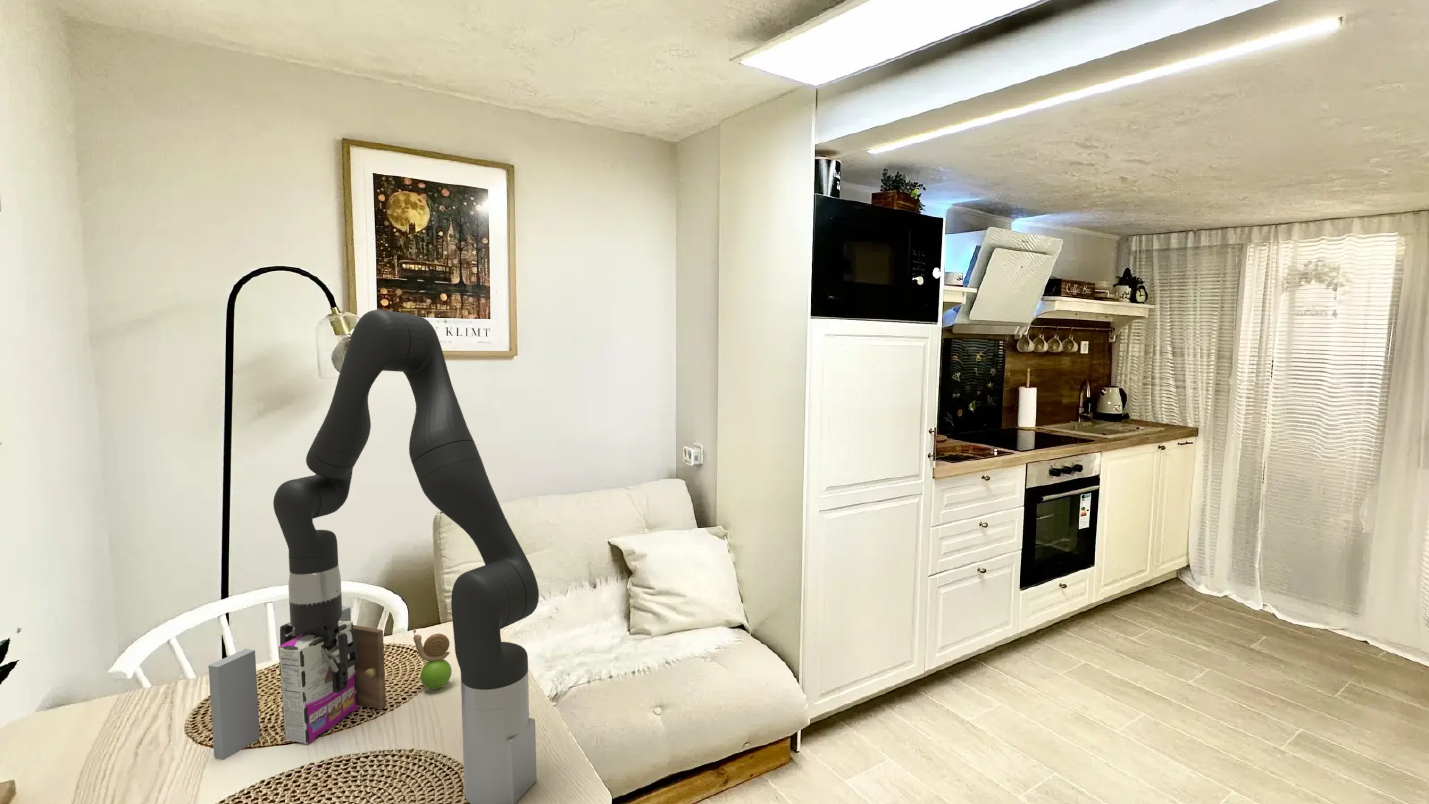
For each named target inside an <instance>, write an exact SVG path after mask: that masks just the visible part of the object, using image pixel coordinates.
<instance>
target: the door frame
mask: <svg viewBox="0 0 1429 804" xmlns="http://www.w3.org/2000/svg"><path fill="white" fill-rule="evenodd" d="M340 620H344V621H352V613H351V606H345V605H342V616H341V618H340ZM257 676H258V675H257V663H256V650H255V649H250V648H244V649H241V650H240V651H238V652H235V653H233V654H231V655H229V656H227V657H224V658H222V659H219V660H216V661H215V662H213V663H210V664H208V677H209V678H208V680H209V681H208V682H209V694H210V695H209V696H210V714H211V727H212V728H211V730H212V742H213V743H212V744H213V745H212V747H213V757H214V759H219V760H223V761H224V760H226V759H227V758H229V757H231V756H233V755H235V754H236V753H238V752H239V751H242V749H244V748H246V747H248V746H250V745H251V744H253V743H254V742H257V741H258V740H260V739H261V733H260V715H259V699H258V698H259V697H258V677H257ZM259 738H260V739H259Z"/></svg>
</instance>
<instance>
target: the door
mask: <svg viewBox="0 0 1429 804" xmlns="http://www.w3.org/2000/svg"><path fill="white" fill-rule="evenodd" d="M353 629H354V630H355V633H356V644H357V655H358V663H356V664H355V669H356V685H357V701H358V705H359V706H360V705H361V706H365V707H370V708H374V709H379V710H382V709H383V708H385V707H386V706H387V699H386V671H385V651H384V650H385V646H384V630H383V629H379V628H373V627H368V626H362V625H357V624H353Z"/></svg>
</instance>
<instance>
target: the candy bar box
mask: <svg viewBox="0 0 1429 804" xmlns="http://www.w3.org/2000/svg"><path fill="white" fill-rule="evenodd" d="M338 625H339V628H340V630H341V631H346V632H347V631H349V630H351V629H353V625H354V622H353V621H352V620H351V621H344V620H339V622H338ZM302 635H303V634H302ZM302 635H300V636H302ZM300 636H298V637H296V638H294V639H292V640H290V641H288V642H286V643H284V644H282V645H280V644H279V646H278V659H279V660H278V661H279V670H280V671H279V673H280V686H281V700H282V712H283V726H284V727H283V729H284V740H290V741H294V742H298V743H297V744H301V743H302V744H301V745H307V744H308V745H310V744H312V743H313V742H315V741H316V740H317V739H318V738H320V737H321V736H323V735H324V734H326V733H327V732H328V731H330V730H331V729H333V728H334V727H335V726H337V725H338V724H339V723H341V722H342V721H343V720H345V719H347V718H348V717H349V716H350V715H351V713H352V712H353V713H355V712H356V711H357V710H358V709H359V704H358V701H357V685H356V669H355V665H353V666H351V667H349V668H348V685H347V687H346V688H345V689H344V690H342V691H341V692H339V693H335V692H333V683H332V672H333V670H332V668H331V667H330V665H329V663H328V662H324V661H323V659H322V654H321V645H323V644H324V640H323V637H317V638H315V639H313V637H315V636H314V635H305V636H303V637H300ZM335 651H336V649H335V646H334V648H333V649H332V650H329V651H328V652H329V653H333V652H335ZM335 659H336V661H337V663H339V662H340V660H339V658H338V657H335ZM348 659H350V654H348ZM353 713H352V714H353ZM347 716H348V717H347ZM340 721H341V722H340ZM336 724H337V725H336ZM329 729H330V730H329ZM294 742H293V743H294Z"/></svg>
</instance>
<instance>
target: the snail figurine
mask: <svg viewBox="0 0 1429 804" xmlns="http://www.w3.org/2000/svg"><path fill="white" fill-rule="evenodd" d="M412 631H413V633H414V634H413V638H412V639H413V642H414V645H415V648H416V651H417V654H418V656H419V657H420V658H421V659H422V660H424V661H426V663H425V664H424V665H423V667H422V668H421V671H420V682H421V683H422V686H424V687H426V688H427V689H430V690H438V689H440V688H441V689H442V688H443V687H444V686H445V685H446V684H448V682H449V681H450V679H451V678H452V677H451V676H452V667H451V664H450V663H449V662H448V660H445V659H446V658H447V657H448V656H449V655H450V654H451V653H450V651H448V650H449V649H450V645H451V644H450V640H449V638H448V637H447V636H446V635H445V634H443V633H433V634H432V635H430V636H429V637H427V638H426V640H425V641H424V643H422V635H421V634H419V633H418V634H416V633H417V629H416V628H413V629H412Z"/></svg>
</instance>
